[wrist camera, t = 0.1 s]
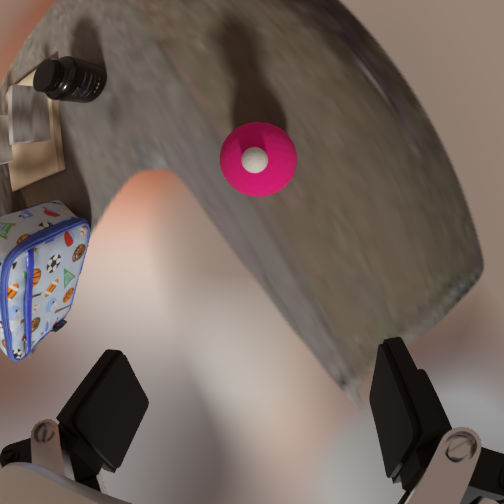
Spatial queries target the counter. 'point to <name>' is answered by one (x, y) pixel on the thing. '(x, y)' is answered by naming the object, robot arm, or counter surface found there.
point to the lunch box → (38, 273)
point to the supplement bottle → (69, 79)
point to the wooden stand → (30, 135)
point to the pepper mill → (258, 159)
